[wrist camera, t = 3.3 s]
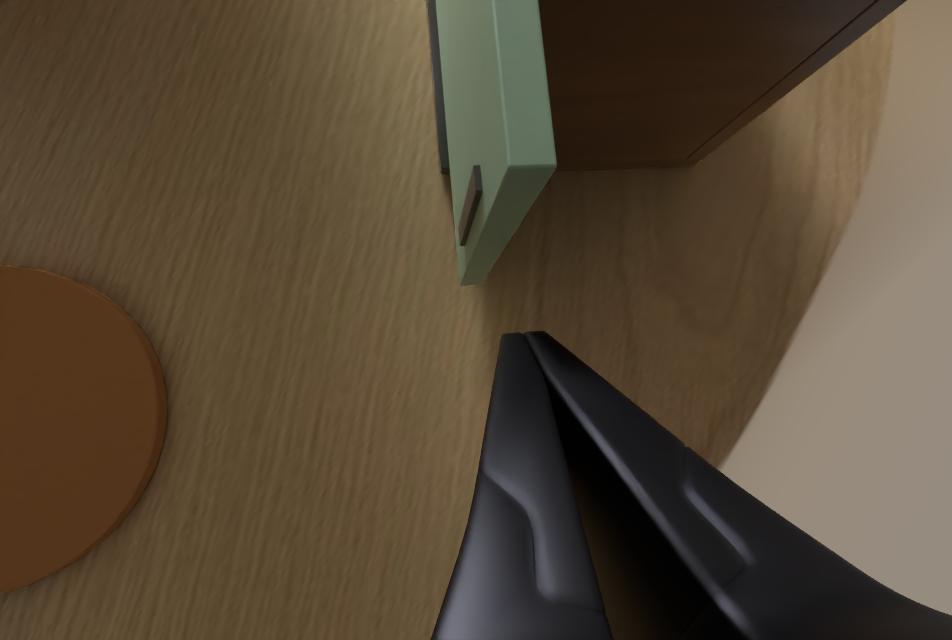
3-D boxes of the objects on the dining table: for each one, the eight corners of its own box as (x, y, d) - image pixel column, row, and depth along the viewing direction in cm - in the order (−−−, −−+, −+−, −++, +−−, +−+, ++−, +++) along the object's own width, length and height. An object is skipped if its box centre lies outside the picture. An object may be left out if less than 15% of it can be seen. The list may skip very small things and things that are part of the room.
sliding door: (481, 284, 16) (558, 167, 7) (455, 286, 16) (499, 168, 7) (456, 2, 17) (493, -395, 8) (431, 2, 17) (442, -402, 8)
